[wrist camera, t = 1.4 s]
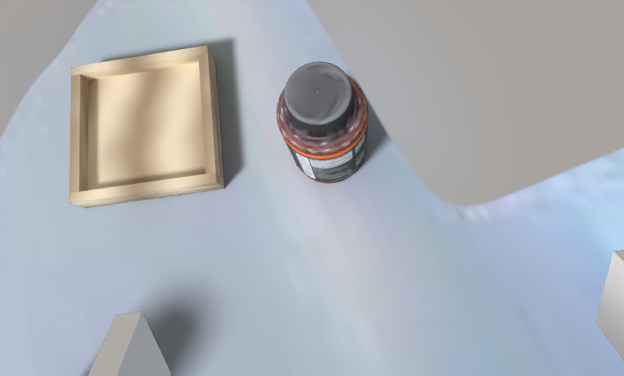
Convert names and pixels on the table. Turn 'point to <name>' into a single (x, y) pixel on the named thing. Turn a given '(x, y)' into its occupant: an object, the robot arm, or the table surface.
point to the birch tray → (145, 128)
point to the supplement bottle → (324, 121)
